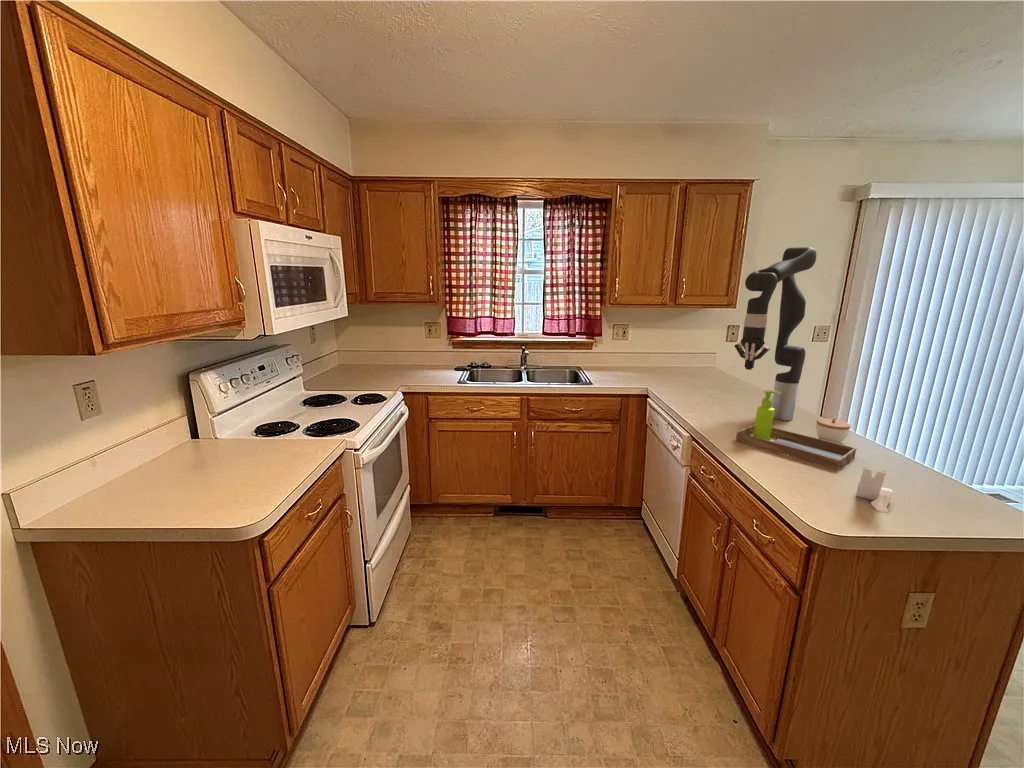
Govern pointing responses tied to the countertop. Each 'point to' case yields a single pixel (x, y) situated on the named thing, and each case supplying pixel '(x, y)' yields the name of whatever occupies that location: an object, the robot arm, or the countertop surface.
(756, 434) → the soap dispenser
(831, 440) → the lidded jar
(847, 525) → the countertop surface
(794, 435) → the wooden tray
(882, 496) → the plastic part
